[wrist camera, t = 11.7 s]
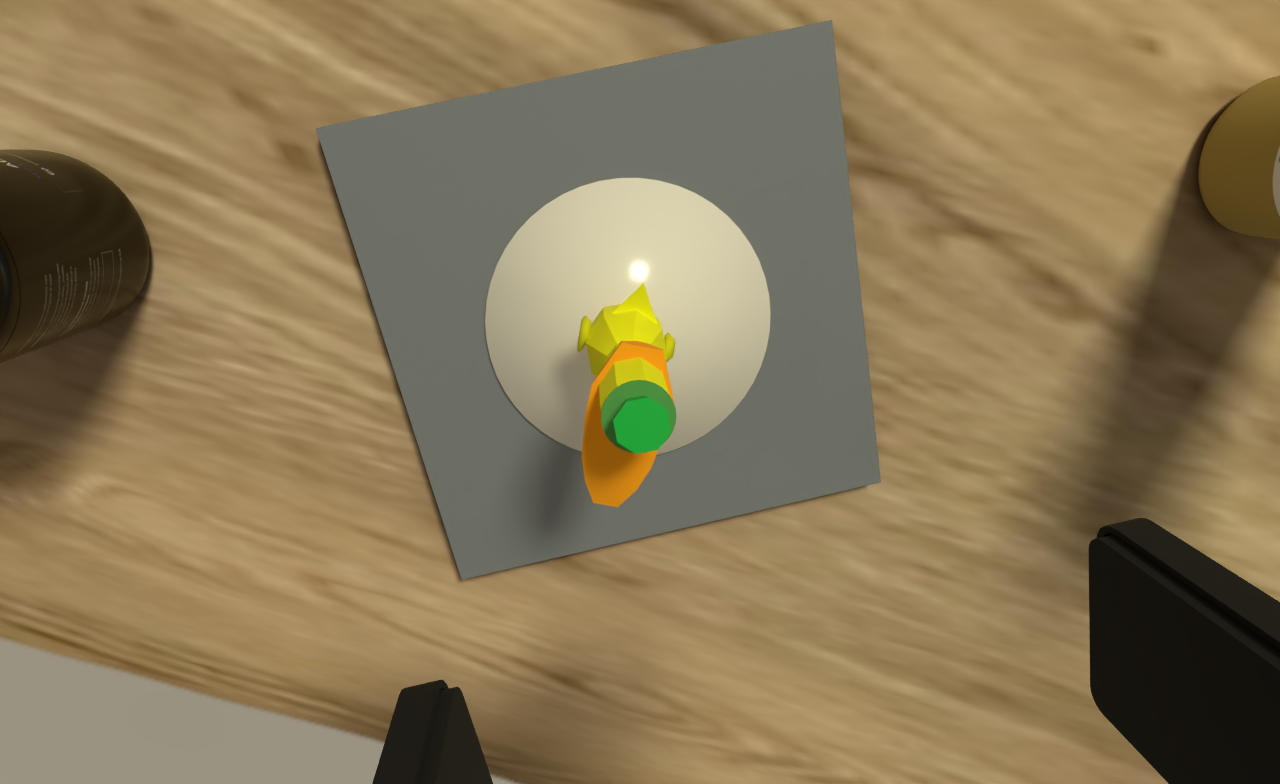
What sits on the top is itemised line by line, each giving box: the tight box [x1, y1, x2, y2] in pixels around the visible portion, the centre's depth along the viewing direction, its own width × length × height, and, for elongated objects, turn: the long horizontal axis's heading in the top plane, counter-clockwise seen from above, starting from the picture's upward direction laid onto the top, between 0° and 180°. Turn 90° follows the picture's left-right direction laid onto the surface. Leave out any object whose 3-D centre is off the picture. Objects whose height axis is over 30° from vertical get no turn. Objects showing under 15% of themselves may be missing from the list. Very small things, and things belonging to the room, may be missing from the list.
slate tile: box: [316, 20, 881, 580], centre depth 32 cm, size 20×20×1 cm
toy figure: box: [577, 283, 676, 507], centre depth 26 cm, size 7×4×12 cm, turn 168°
